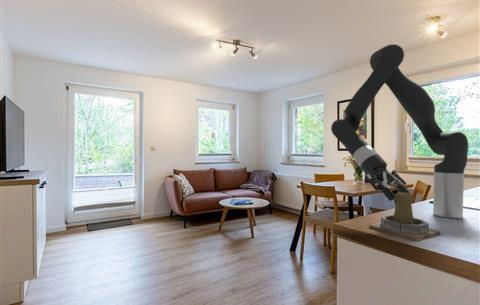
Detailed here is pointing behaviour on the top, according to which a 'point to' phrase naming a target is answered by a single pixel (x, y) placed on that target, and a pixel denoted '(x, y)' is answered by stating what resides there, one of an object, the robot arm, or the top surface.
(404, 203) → the cork
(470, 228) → the top surface
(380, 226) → the socket base
